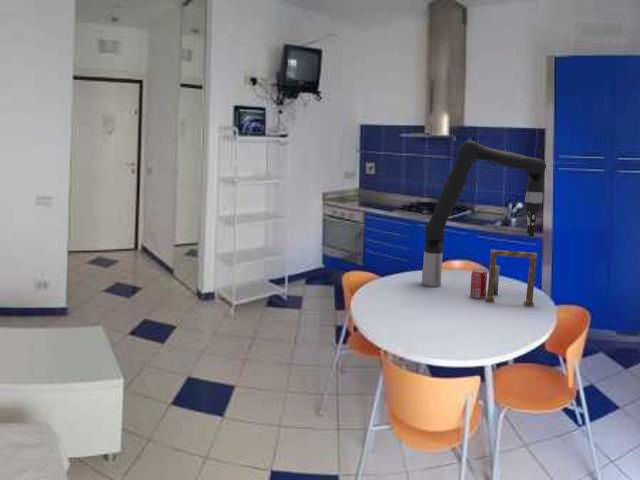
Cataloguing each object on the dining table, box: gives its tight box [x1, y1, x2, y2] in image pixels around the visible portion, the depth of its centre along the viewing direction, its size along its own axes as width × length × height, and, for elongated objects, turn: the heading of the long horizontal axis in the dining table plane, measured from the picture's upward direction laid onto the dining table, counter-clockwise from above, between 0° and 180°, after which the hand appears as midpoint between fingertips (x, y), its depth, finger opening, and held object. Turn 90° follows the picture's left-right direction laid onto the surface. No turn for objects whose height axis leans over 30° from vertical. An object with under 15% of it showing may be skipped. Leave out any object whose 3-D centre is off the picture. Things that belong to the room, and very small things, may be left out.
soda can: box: [469, 268, 488, 300], centre depth 250 cm, size 7×7×13 cm
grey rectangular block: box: [493, 264, 501, 296], centre depth 255 cm, size 4×5×14 cm
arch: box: [484, 249, 538, 307], centre depth 241 cm, size 21×5×24 cm, turn 73°
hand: (530, 234), depth 252 cm, fingers open, 8 cm apart
